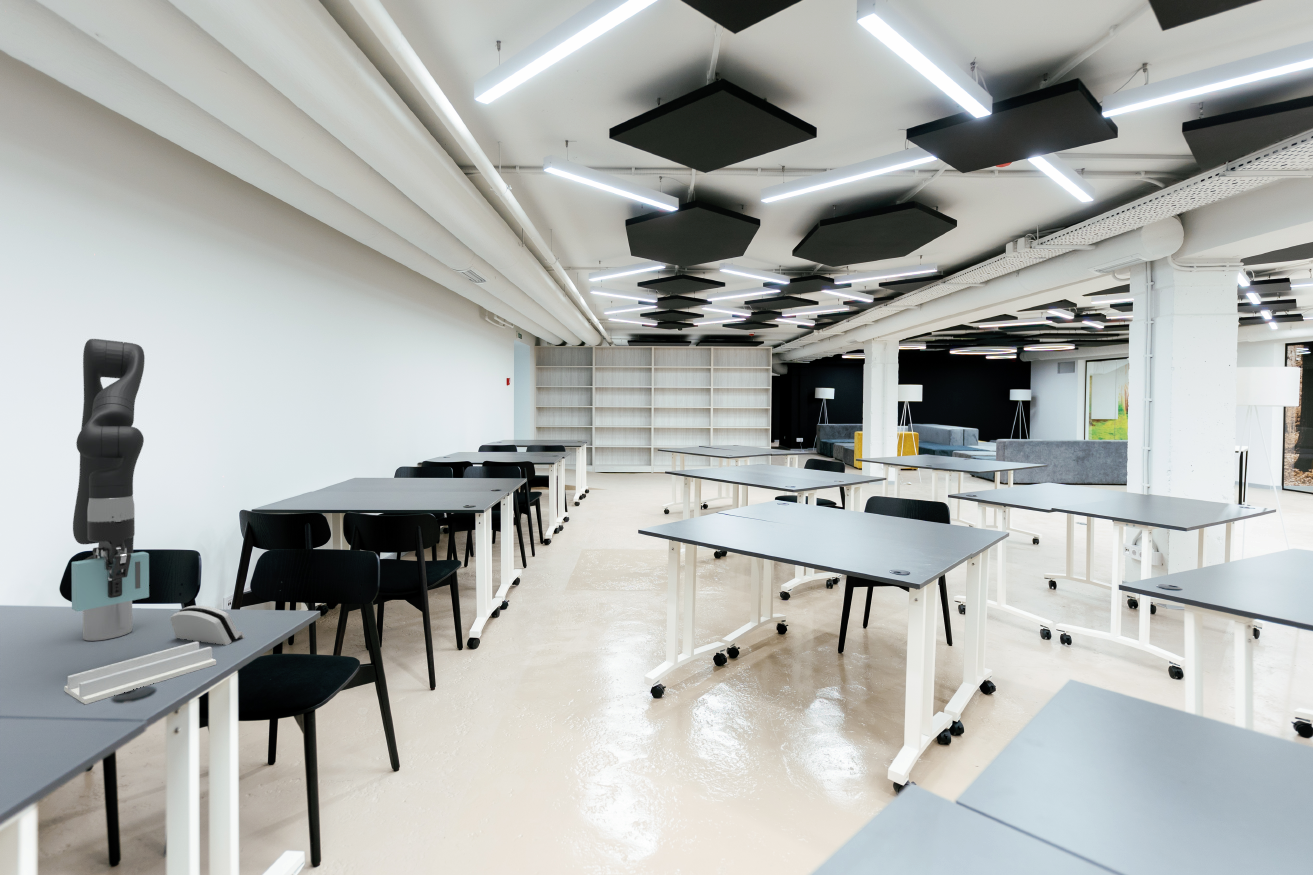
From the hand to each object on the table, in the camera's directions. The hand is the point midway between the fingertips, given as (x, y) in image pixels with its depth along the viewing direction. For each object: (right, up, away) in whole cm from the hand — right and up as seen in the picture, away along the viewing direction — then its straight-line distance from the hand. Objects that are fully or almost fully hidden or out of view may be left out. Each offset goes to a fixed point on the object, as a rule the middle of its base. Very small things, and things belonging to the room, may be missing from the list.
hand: (111, 595), depth 128 cm
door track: (+10, -17, -3) cm, 20 cm away
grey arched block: (+6, -17, +19) cm, 26 cm away
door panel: (0, -2, 0) cm, 2 cm away
